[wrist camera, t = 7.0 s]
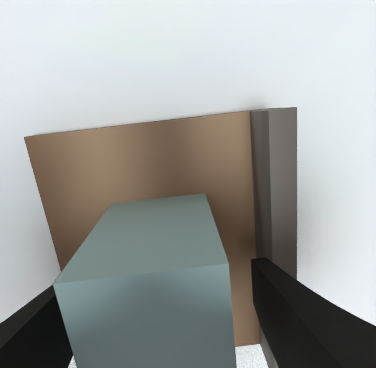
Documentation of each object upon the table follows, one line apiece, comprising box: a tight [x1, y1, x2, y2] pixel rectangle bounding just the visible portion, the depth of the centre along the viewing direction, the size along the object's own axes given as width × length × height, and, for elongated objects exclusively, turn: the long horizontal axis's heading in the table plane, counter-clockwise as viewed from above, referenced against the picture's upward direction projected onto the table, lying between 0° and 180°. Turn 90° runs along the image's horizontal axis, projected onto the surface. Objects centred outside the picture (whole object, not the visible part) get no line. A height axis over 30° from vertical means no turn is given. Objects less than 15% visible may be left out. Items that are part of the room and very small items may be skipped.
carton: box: [53, 193, 237, 368], centre depth 10 cm, size 5×6×6 cm
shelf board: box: [24, 107, 297, 368], centre depth 12 cm, size 11×13×3 cm
